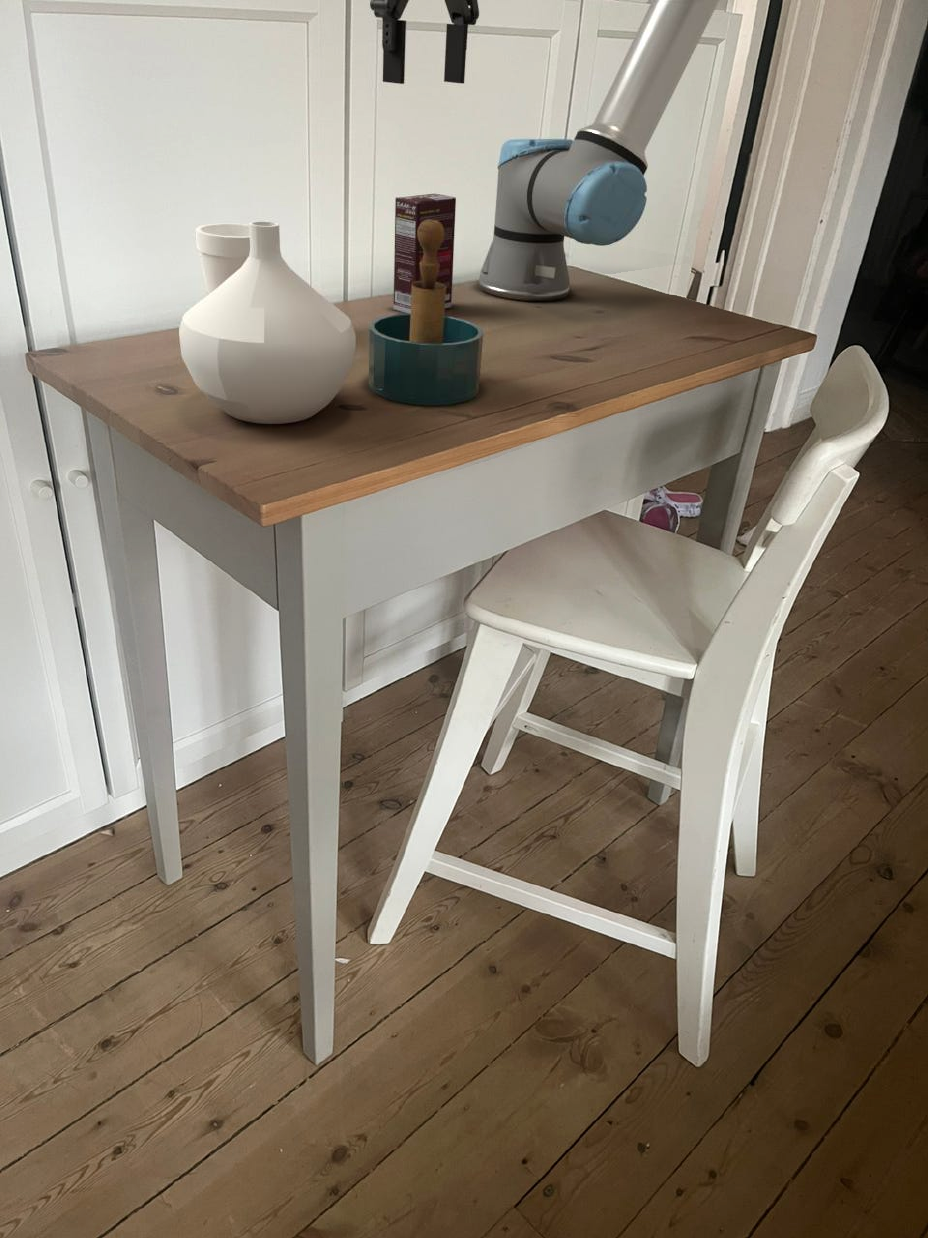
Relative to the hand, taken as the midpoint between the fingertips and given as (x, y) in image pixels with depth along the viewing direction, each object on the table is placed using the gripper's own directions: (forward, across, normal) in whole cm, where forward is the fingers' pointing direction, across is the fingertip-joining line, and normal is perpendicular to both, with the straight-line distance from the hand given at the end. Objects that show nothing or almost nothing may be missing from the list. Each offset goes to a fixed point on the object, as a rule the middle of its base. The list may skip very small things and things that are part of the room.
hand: (424, 82), depth 120 cm
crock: (+31, +21, +16) cm, 40 cm away
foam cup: (+31, +20, -15) cm, 40 cm away
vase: (+31, +39, +8) cm, 50 cm away
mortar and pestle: (+30, +21, +16) cm, 40 cm away
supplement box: (+31, -9, -5) cm, 33 cm away
